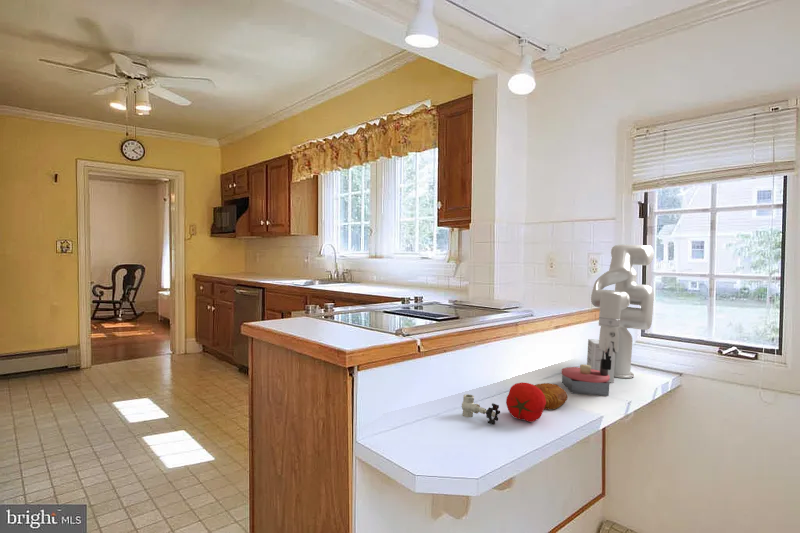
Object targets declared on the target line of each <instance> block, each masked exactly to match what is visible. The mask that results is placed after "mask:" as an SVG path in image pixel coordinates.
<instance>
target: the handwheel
mask: <svg viewBox="0 0 800 533" xmlns="http://www.w3.org/2000/svg"><path fill="white" fill-rule="evenodd" d="M601 362H602V359H601V361H600V371H598V370H594V369H591V366H590V365H587V364H584V363H583V364H580V366H568V367H564V368H562V369H561V376H562V375H564V376H565V377H568V378H571V379H574V380H578V381H584V382H593V383H603V382H608V381H609V380H610V376H609V375H608V370H605V369H602V368H601ZM608 383H609V382H608Z"/></svg>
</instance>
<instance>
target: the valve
mask: <svg viewBox="0 0 800 533" xmlns="http://www.w3.org/2000/svg"><path fill="white" fill-rule="evenodd" d="M462 398H463V399H462V403H461V409H462V415H461V416H462V417H465V418H467V419H469V418H473V417H474V414H476V415H477V414H479V413H481V414H482V415H486V416H485V417H486V418H487V419H488V420H487V422H486V423H487V424H490V425H492V426H494V425H496V422H498V421H499V415H500V413H501V410H499V408H500V405H499V404H496V403H494V402H492V403H491V407H490V406H489V407H488V408H485V407H482V406H480V404H479V403H475V402H474V401H475V396H474V395H473V394H469V393H466V394H463V397H462Z"/></svg>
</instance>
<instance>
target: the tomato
mask: <svg viewBox="0 0 800 533" xmlns="http://www.w3.org/2000/svg"><path fill="white" fill-rule="evenodd" d="M535 385H536V384H532V383H529V382H518V383H515V384H513V385H512V386H511V387H510V389H509V392H508V395H507V396H506V400H505V404H506V407H507V408H506V409H507V411H508V412H509V414H510V415H511V416H512V417H513V418H515V419H517V420H524V421H525V422H530V423H533V422H535V421H538V420H539V419H540V418H541V416H542V415H543V413H544V409H545V408H544V407H545V405H546V399H545V395H544V394H543V392H542V391H541V390H540V389H539V388H537V387H536V386H535Z"/></svg>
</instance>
